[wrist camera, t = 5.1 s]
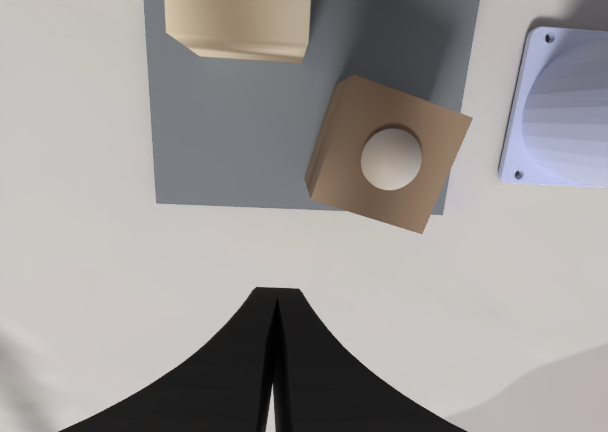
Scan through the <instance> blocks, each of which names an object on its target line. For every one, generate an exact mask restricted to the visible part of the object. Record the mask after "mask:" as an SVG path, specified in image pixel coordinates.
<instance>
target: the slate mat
mask: <svg viewBox="0 0 608 432" xmlns="http://www.w3.org/2000/svg"><path fill="white" fill-rule="evenodd" d="M478 6H479V0H311V5H310V23H309V42H308V46H307V49H306V52H305V55H304V58H303V61H302V63H289V62H275V61H260V60H245V59H231V58H216V57H202V56H198V55H197V54H196V53H194V52H193V51H191V50H190V49H189V48H187V47H186V46H184V45H183V44H182V43H180V42H179V41H177V40H176V39H174V38H173V37H172V36H170V35H169V34H167V33H166V23H165V2H164V0H144V13H145V29H146V45H147V61H148V77H149V93H150V109H151V125H152V142H153V158H154V174H155V190H156V203H160V204H184V205H209V206H234V207H259V208H283V209H308V210H333V211H346V210H343V209H339V208H336V207H333V206H330V205H326V204H323V203H320V202H317V201H314V200H311V199H310V196H309V192H308V189H307V186H306V183H305V180H304V177H305V174H306V171H307V168H308V165H309V162H310V159H311V156H312V153H313V150H314V147H315V144H316V141H317V138H318V135H319V132H320V129H321V126H322V123H323V120H324V117H325V114H326V111H327V108H328V105H329V102H330V99H331V96H332V93H333V90H334V86H335V85H337V84H338V83H340V82H341V81H343V80H345V79H346V78H348V77H350V76H351V75H353V74H355V75H358V76H360V77H363V78H366V79H368V80H371V81H374V82H377V83H379V84H382V85H385V86H388V87H390V88H393V89H396V90H398V91H401V92H404V93H407V94H409V95H412V96H415V97H417V98H420V99H423V100H426V101H428V102H431V103H434V104H436V105H439V106H442V107H445V108H447V109H450V110H453V111H455V112H458V113H460V111H461V105H462V99H463V93H464V87H465V82H466V76H467V70H468V64H469V58H470V52H471V47H472V41H473V35H474V29H475V23H476V17H477V12H478ZM449 175H450V171H449V174H448V176H447V178H446V180H445V183H444V185H443V187H442V190H441V192H440V194H439V196H438V199H437V201H436V203H435V206H434V208H433V210H432V213H431V214H432V215H443V210H444V204H445V198H446V192H447V186H448V181H449Z"/></svg>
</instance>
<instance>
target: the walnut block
mask: <svg viewBox="0 0 608 432" xmlns="http://www.w3.org/2000/svg"><path fill="white" fill-rule="evenodd" d="M472 119H473V118H472V117H469V116H466V115H464V114H461V113H458V112H455V111H453V110H450V109H447V108H445V107H442V106H439V105H436V104H434V103H431V102H428V101H426V100H423V99H420V98H417V97H415V96H412V95H409V94H407V93H404V92H401V91H398V90H396V89H393V88H390V87H388V86H385V85H382V84H379V83H377V82H374V81H371V80H368V79H366V78H363V77H360V76H358V75H355V74H353V75H351V76H350V77H348V78H346V79H345V80H343V81H341V82H340V83H338V84H337V85H335V86H334V90H333V93H332V96H331V99H330V102H329V105H328V108H327V111H326V114H325V117H324V120H323V123H322V126H321V129H320V132H319V135H318V138H317V141H316V144H315V147H314V150H313V153H312V156H311V159H310V162H309V165H308V168H307V171H306V174H305V177H304V180H305V183H306V186H307V189H308V192H309V196H310V199H311V200H314V201H317V202H320V203H323V204H326V205H330V206H333V207H336V208H339V209H343V210H346V211H349V212H352V213H356V214H359V215H362V216H365V217H368V218H372V219H375V220H378V221H381V222H385V223H388V224H391V225H394V226H398V227H401V228H404V229H407V230H411V231H414V232H417V233H420V234H422V233H423V231H424V229H425V226H426V224H427V222H428V219H429V217H430V215H431V213H432V210H433V208H434V206H435V203H436V201H437V199H438V196H439V194H440V192H441V190H442V187H443V185H444V183H445V180H446V178H447V176H448V174H449V171H450V169H451V167H452V164H453V162H454V160H455V158H456V155H457V153H458V151H459V148H460V146H461V144H462V142H463V139H464V137H465V135H466V132H467V130H468V128H469V126H470V123H471V121H472Z"/></svg>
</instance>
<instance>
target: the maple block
mask: <svg viewBox="0 0 608 432" xmlns="http://www.w3.org/2000/svg"><path fill="white" fill-rule="evenodd" d="M164 2H165V23H166V33H167V34H169V35H170V36H172V37H173V38H174V39H176V40H177V41H179V42H180V43H182V44H183V45H184V46H186V47H187V48H189V49H190V50H191V51H193V52H194V53H196V54H197V55H198V56H202V57H216V58H231V59H245V60H260V61H275V62H289V63H302V61H303V58H304V55H305V52H306V49H307V46H308V42H309V23H310V5H311V0H164Z"/></svg>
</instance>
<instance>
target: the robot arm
mask: <svg viewBox="0 0 608 432" xmlns="http://www.w3.org/2000/svg"><path fill="white" fill-rule="evenodd" d="M546 34H548V35H549V42H548V43H547V42H546V41H545V36H546ZM517 171H519V175H518V177H516V178H515V173H516V172H517ZM498 177H499V179H500V180H501V181H502V182H506V183H516V184H537V185H558V186H579V187H601V188H608V31H597V30H585V29H572V28H560V27H547V26H540V27H536V28H534V29H532V30H531V31H530V32H529V33H528V36H527V39H526V44H525V48H524V53H523V58H522V63H521V67H520V72H519V77H518V82H517V86H516V91H515V96H514V101H513V105H512V110H511V115H510V120H509V125H508V129H507V134H506V139H505V144H504V148H503V153H502V158H501V163H500V167H499V172H498ZM272 384H273V394H274V411H275V428H276V432H467V431H465V430H463V429H461V428H459V427H457V426H455V425H453V424H451V423H449V422H448V421H446V420H444V419H442V418H441V417H439V416H437V415H435V414H434V413H432V412H430V411H429V410H427V409H425V408H424V407H422V406H420V405H419V404H417V403H415V402H414V401H412V400H411V399H409V398H408V397H406V396H405V395H403V394H402V393H400V392H399V391H397V390H396V389H394V388H393V387H392V386H390V385H389V384H387V383H386V382H385V381H383V380H382V379H381V378H379V377H378V376H377V375H375V374H374V373H373V372H372V371H370V370H369V369H368V368H367V367H365V366H364V365H363V364H362V363H361V362H360V361H359V360H357V359H356V358H355V357H354V356H353V355H352V354H351V353H350V352H349V351H347V350H346V349H345V348H344V347H343V346H342V344H341V343H340V342H339V341H338V340H337V339H336V338H335V337H334V336H333V335H332V333H331V332H330V331H329V330H328V329H327V327H326V326H325V325H324V324H323V322H322V321H321V320H320V318H319V317H318V316H317V314H316V313H315V312H314V310H313V309H312V307H311V306H310V304H309V303H308V301H307V300H306V298H305V297H304V295H303V293H302V292H301V291H300V289H293V288H267V287H256V288H255V289H254V290H253V291H252V292H251V294H250V295H249V297H248V298H247V299H246V301H245V302H244V303H243V305H242V306H241V307H240V308H239V310H238V311H237V312H236V313H235V314H234V315H233V316H232V318H231V319H230V320H229V321H228V322H227V323H226V324H225V325H224V326H223V327H222V328H221V329H220V330H219V331H218V332H217V333H216V334H215V335H214V336H213V337H212V338H211V339H210V340H209V341H208V342H207V343H206V344H205V345H204V346H203V347H201V348H200V349H199V350H198V351H197V352H196V353H194V354H193V355H192V356H191V357H189V358H188V359H187V360H186V361H184V362H183V363H182V364H180V365H179V366H177V367H176V368H174V369H173V370H171V371H170V372H168V373H167V374H165V375H164V376H162V377H161V378H159V379H158V380H156V381H155V382H153V383H152V384H150V385H149V386H147V387H145V388H144V389H142V390H140V391H138V392H137V393H135V394H133V395H131V396H130V397H128V398H126V399H124V400H122V401H121V402H119V403H117V404H115V405H113V406H111V407H109V408H107V409H105V410H104V411H102V412H100V413H98V414H96V415H94V416H92V417H90V418H88V419H85V420H83V421H81V422H79V423H77V424H74V425H72V426H70V427H68V428H66V429H63V430H61V431H59V432H265V431H266V424H267V418H268V411H269V404H270V397H271V390H272Z"/></svg>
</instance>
